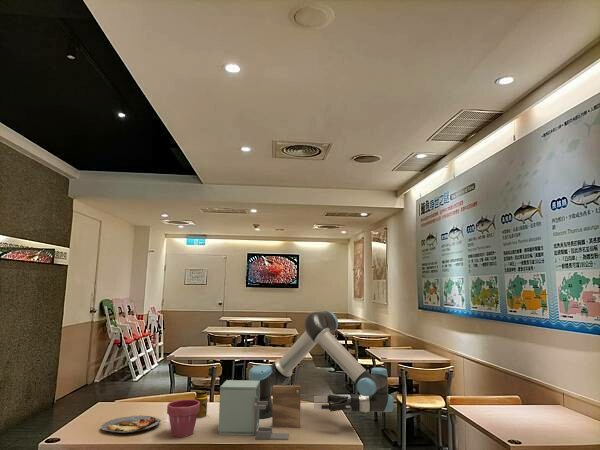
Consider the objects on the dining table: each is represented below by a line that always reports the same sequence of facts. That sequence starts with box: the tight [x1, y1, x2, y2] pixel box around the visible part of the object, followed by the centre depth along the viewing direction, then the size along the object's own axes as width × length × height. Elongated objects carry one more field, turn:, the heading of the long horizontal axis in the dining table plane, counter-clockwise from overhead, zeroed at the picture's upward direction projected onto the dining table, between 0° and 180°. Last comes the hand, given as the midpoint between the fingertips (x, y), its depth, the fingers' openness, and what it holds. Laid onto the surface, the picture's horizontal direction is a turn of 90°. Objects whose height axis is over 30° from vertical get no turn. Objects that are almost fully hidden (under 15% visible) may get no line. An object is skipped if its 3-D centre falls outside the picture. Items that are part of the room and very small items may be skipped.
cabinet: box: [218, 379, 290, 441], centre depth 188 cm, size 20×31×20 cm, turn 88°
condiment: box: [194, 389, 210, 420], centre depth 210 cm, size 7×8×12 cm
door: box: [271, 384, 302, 429], centre depth 196 cm, size 4×13×18 cm, turn 88°
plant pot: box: [166, 399, 200, 438], centre depth 185 cm, size 14×14×13 cm
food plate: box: [100, 414, 161, 434], centre depth 192 cm, size 25×23×4 cm
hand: (313, 402), depth 196 cm, fingers open, 13 cm apart
